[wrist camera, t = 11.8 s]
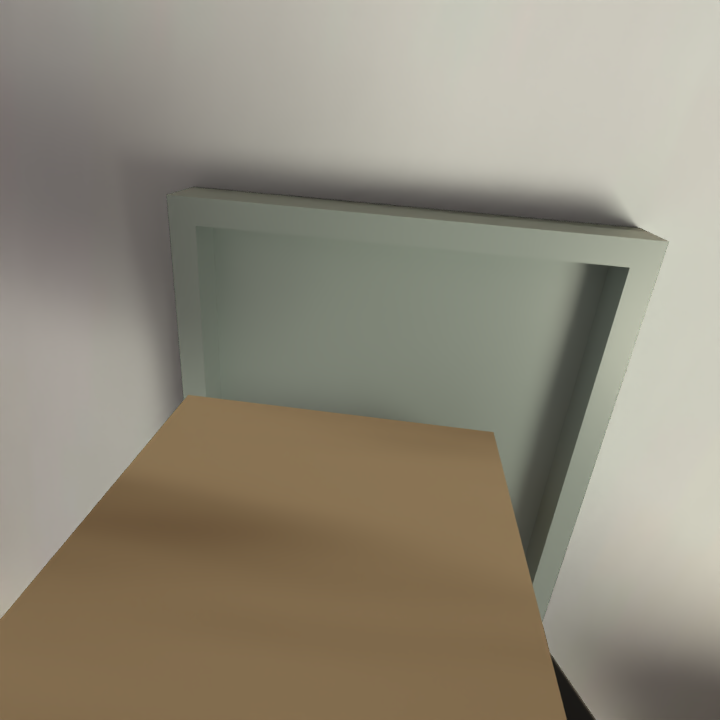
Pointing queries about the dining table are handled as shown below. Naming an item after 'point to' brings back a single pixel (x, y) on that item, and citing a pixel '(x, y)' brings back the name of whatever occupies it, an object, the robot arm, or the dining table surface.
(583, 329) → the tray
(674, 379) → the dining table surface
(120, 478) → the oak block
